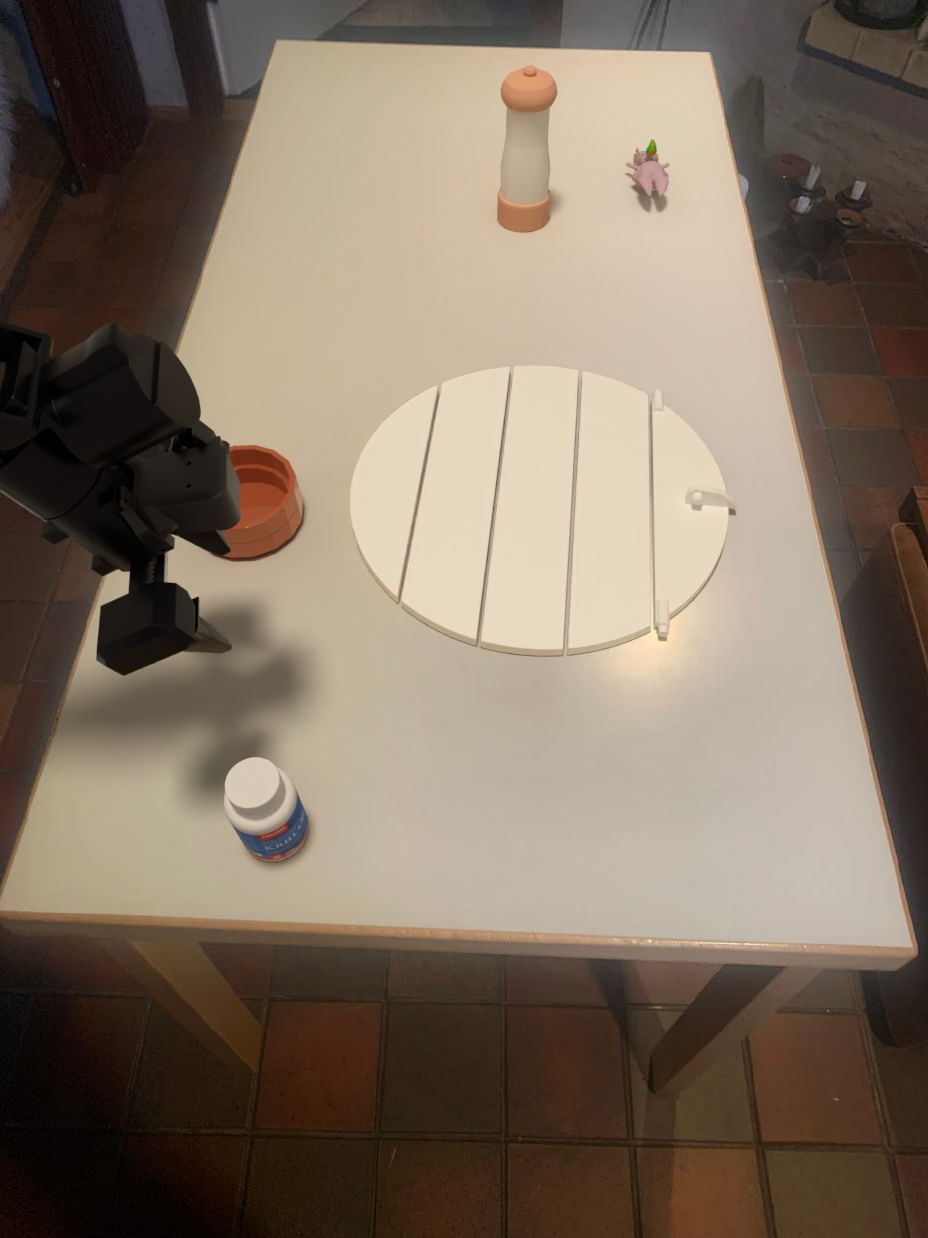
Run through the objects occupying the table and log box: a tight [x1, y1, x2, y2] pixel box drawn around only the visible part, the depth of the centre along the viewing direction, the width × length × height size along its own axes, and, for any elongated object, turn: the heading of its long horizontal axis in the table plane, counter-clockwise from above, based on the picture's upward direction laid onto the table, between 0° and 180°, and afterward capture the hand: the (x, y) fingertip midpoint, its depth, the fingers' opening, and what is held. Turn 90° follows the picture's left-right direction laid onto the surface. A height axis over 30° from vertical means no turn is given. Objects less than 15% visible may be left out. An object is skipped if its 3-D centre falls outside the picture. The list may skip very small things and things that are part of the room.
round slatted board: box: [349, 365, 738, 657], centre depth 87 cm, size 40×39×3 cm
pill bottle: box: [223, 756, 309, 862], centre depth 65 cm, size 6×5×10 cm
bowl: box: [222, 444, 304, 559], centre depth 85 cm, size 11×11×5 cm
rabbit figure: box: [625, 138, 670, 197], centre depth 119 cm, size 6×6×15 cm
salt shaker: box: [496, 64, 558, 233], centre depth 110 cm, size 7×7×19 cm
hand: (226, 598), depth 64 cm, fingers open, 9 cm apart
